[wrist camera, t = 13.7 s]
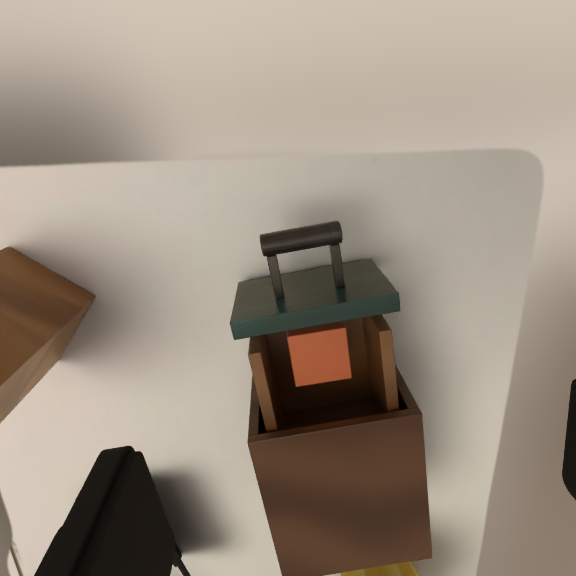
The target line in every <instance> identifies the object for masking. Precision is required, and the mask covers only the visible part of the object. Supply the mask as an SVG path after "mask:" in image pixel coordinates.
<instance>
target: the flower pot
mask: <svg viewBox="0 0 576 576" xmlns="http://www.w3.org/2000/svg"><path fill="white" fill-rule="evenodd" d="M341 576H419V574H418V572H417V571H416V569H415V567H414V565H413V564H412V562H411V561H410V562H404V563H398V564H391V565H385V566H379V567H373V568H367V569H360V570H354V571H348V572H342V573H341Z"/></svg>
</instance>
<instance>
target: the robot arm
mask: <svg viewBox="0 0 576 576" xmlns="http://www.w3.org/2000/svg"><path fill="white" fill-rule="evenodd" d="M562 477H563V481H564V484H565V486H566V488H567V489H568V491H569V492H570V494H571V495H572V496H573V497H574V498H575V500H576V379H575V380H573V381H572V384H571V393H570V401H569V411H568V421H567V431H566V440H565V450H564V460H563V470H562ZM174 554H175V541H174V536H173V533H172V531H171V528H170V525H169V523H168V520H167V517H166V515H165V512H164V509H163V507H162V504H161V501H160V499H159V496H158V493H157V491H156V488H155V485H154V483H153V480H152V477H151V475H150V472H149V469H148V467H147V464H146V461H145V459H144V456H143V454H142V453H141V452H140V451H137V452H135V450H134V449H133V448H132V447H131V446H124V447H118V448H112V449H106V450H103V451H102V452H101V453H100V454H99V456H98V458H97V460H96V462H95V464H94V466H93V467H92V469H91V471H90V473H89V475H88V477H87V479H86V481H85V483H84V485H83V487H82V489H81V491H80V493H79V495H78V497H77V499H76V501H75V503H74V505H73V507H72V508H71V510H70V512H69V514H68V516H67V518H66V520H65V522H64V524H63V526H62V527H60V529H59V530H58V532H57V533H56V535H55V536H54V538H53V540H52V542H51V544H50V546H49V548H48V550H47V552H46V554H45V556H44V558H43V560H42V562H41V563H40V565H39V567H38V569H37V571H36V573H35V575H34V576H170V573H171V569H172V564H173V559H174Z"/></svg>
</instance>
